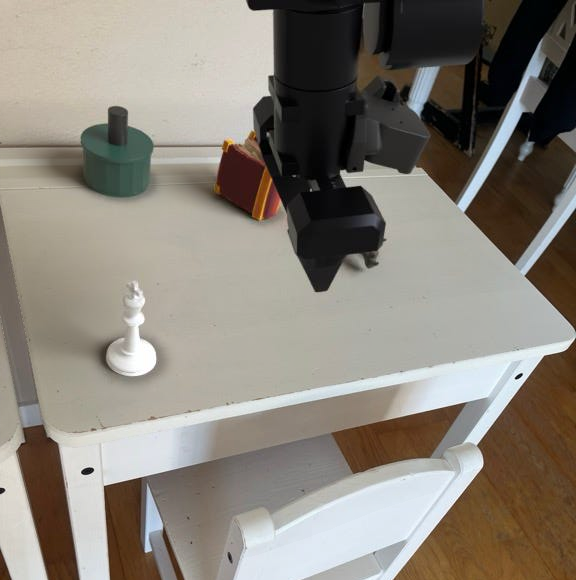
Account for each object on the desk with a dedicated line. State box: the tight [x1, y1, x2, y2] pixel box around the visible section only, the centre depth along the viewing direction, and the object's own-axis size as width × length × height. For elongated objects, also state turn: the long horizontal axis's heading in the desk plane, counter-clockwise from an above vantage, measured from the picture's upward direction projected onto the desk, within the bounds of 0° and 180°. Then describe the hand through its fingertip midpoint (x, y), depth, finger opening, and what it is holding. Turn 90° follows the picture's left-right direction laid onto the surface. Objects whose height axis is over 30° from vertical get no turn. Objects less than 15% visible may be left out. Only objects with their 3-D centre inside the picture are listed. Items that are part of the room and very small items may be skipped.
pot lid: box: [80, 105, 155, 164], centre depth 78 cm, size 9×9×5 cm
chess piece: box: [105, 279, 157, 377], centre depth 59 cm, size 5×5×10 cm
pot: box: [82, 147, 152, 198], centre depth 81 cm, size 8×8×5 cm
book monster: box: [213, 130, 282, 221], centre depth 84 cm, size 11×9×12 cm
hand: (308, 255), depth 54 cm, fingers open, 9 cm apart
